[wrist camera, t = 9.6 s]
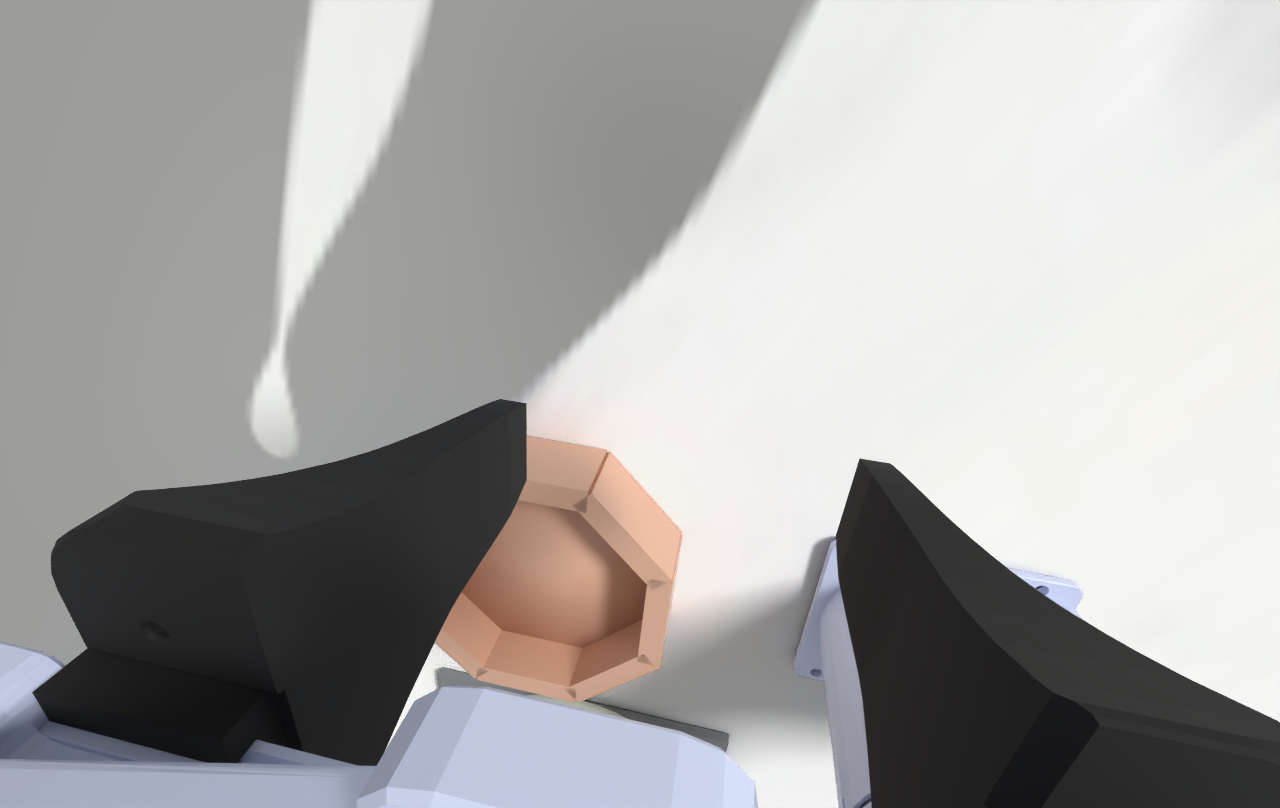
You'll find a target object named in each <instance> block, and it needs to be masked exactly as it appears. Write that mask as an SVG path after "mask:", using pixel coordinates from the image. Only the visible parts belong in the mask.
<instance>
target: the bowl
mask: <svg viewBox="0 0 1280 808" xmlns="http://www.w3.org/2000/svg"><path fill="white" fill-rule="evenodd" d="M681 539H682V534H681V531H680V530H679V529H678V528H677V526H676V525H675V524H674V523H673V522H672V521H671V520H670V519H669V517H668V516H667V515H666V514H665V513H664V512H663V511H662V510H661V508H660V507H659V506H658V505H657V504H656V503H655V502H654V501H653V499H652V498H651V497H650V496H649V495H648V494H647V493H646V492H645V490H644V489H643V488H642V487H641V486H640V485H639V484H638V483H637V481H636V480H635V479H634V478H633V477H632V476H631V475H630V474H629V472H628V471H627V470H626V469H625V468H624V467H623V466H622V465H621V464H620V462H619V461H618V460H617V459H616V458H615V457H614V456H613V455H612V453H611V452H609V453H608V454H607V450H604V449H598V448H592V447H587V446H581V445H575V444H570V443H564V442H558V441H553V440H547V439H541V438H536V437H530V436H527V481H526V483H525V485H524V487H523V490H522V492H521V494H520V497H519V499H518V501H517V503H516V505H515V507H514V510H513V512H512V514H511V516H510V517H509V519H508V521H507V522H506V524H505V525H504V527H503V529H502V530H501V532H500V533H499V535H498V536H497V538H496V540H495V541H494V543H493V544H492V546H491V547H490V549H489V550H488V552H487V553H486V555H485V557H484V558H483V560H482V561H481V563H480V564H479V566H478V567H477V569H476V570H475V572H474V573H473V575H472V577H471V578H470V580H469V581H468V583H467V584H466V586H465V587H464V589H463V590H462V592H461V594H460V595H459V597H458V599H457V600H456V602H455V604H454V605H453V607H452V609H451V611H450V613H449V615H448V617H447V619H446V621H445V623H444V625H443V627H442V629H441V631H440V633H439V635H438V637H437V639H436V641H435V643H436V644H437V645H438V646H439V647H440V648H441V649H442V650H443V651H445V652H446V653H447V654H448V655H449V656H450V657H451V658H452V659H453V660H454V661H456V662H457V663H458V664H459V665H460V666H461V667H462V668H463V669H464V670H466V671H467V672H468V673H469V674H470V675H471V676H472V677H473V678H476V677H477V680H479V681H484V682H488V683H492V684H497V685H501V686H505V687H509V688H514V689H518V690H522V691H527V692H531V693H535V694H539V695H544V696H548V697H552V698H557V699H561V700H565V701H569V702H574V703H576V701H577V702H578V703H579V702H581V701H584V700H586V699H589V698H591V697H593V696H596V695H598V694H601V693H603V692H605V691H608V690H610V689H612V688H615V687H617V686H620V685H622V684H624V683H627V682H629V681H631V680H634V679H636V678H639V677H641V676H643V675H646V674H648V673H651V672H653V671H655V670H658V668H659V667H660V665H661V659H662V654H663V648H664V643H665V637H666V632H667V626H668V621H669V615H670V609H671V603H672V596H673V590H674V584H675V577H676V571H677V565H678V558H679V552H680V545H681Z"/></svg>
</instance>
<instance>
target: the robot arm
mask: <svg viewBox="0 0 1280 808" xmlns="http://www.w3.org/2000/svg"><path fill="white" fill-rule="evenodd" d="M526 481H527V436H526V403H520V402H514V401H508V400H502V399H499V400H496V401H493V402H491V403H488V404H485V405H483V406H481V407H478V408H476V409H474V410H471V411H469V412H467V413H465V414H463V415H460V416H458V417H456V418H453V419H451V420H449V421H447V422H444V423H442V424H440V425H438V426H435V427H433V428H431V429H428V430H426V431H423V432H421V433H418V434H416V435H413V436H411V437H408V438H406V439H403V440H401V441H398V442H396V443H393V444H390V445H388V446H385V447H382V448H379V449H376V450H373V451H370V452H367V453H364V454H360V455H357V456H353V457H350V458H347V459H344V460H340V461H337V462H332V463H328V464H324V465H319V466H315V467H310V468H306V469H302V470H297V471H293V472H288V473H284V474H278V475H273V476H267V477H261V478H255V479H249V480H242V481H236V482H228V483H221V484H212V485H202V486H191V487H179V488H168V489H157V490H142V491H135V492H133V493H131V494H130V495H128V496H126V497H125V498H123V499H122V500H120V501H118V502H117V503H115V504H113V505H112V506H110V507H108V508H107V509H105V510H104V511H102V512H100V513H98V514H97V515H95V516H94V517H92V518H90V519H88V520H87V521H85V522H84V523H82V524H80V525H79V526H77V527H76V528H74V529H72V530H70V531H69V532H67V533H66V534H65V535H63V536H62V537H61V538H59V539H58V540H57V541H56V544H55V546H54V548H53V550H52V553H51V570H52V571H51V573H52V576H53V579H54V581H55V584H56V587H57V590H58V592H59V594H60V596H61V597H62V599H63V601H64V603H65V605H66V607H67V609H68V611H69V613H70V615H71V617H72V619H73V621H74V623H75V625H76V627H77V629H78V631H79V632H80V635H81V637H82V639H83V641H84V643H85V644H86V646H87V647H88V648H87V649H86V650H85V651H84V652H83V653H81V654H80V655H79V656H77V657H76V658H75V659H74V660H72V661H71V662H70V663H69V664H68V665H66V666H65V665H64V664H63V663H62V662H61V661H59V660H58V659H56V658H55V657H54V656H52V655H49V654H47V653H44V652H42V651H37V650H34V649H30V648H26V647H22V646H18V645H13V644H9V643H5V642H1V641H0V808H758V803H757V796H756V789H755V782H754V781H753V780H752V779H751V778H750V777H749V776H748V775H747V774H746V773H745V772H744V771H743V770H742V769H741V768H740V767H739V766H738V765H737V764H736V763H735V762H734V761H733V760H732V759H731V758H730V757H729V756H728V755H727V754H726V753H725V752H724V751H723V750H722V749H721V748H720V747H717V746H715V745H713V744H710V743H708V742H705V741H703V740H700V739H698V738H696V737H693V736H691V735H688V734H686V733H683V732H681V731H677V730H673V729H669V728H664V727H660V726H656V725H651V724H647V723H643V722H638V721H634V720H630V719H625V718H621V717H617V716H612V715H608V714H604V713H599V712H595V711H591V710H586V709H582V708H578V707H573V706H569V705H565V704H560V703H556V702H551V701H547V700H543V699H538V698H534V697H530V696H525V695H521V694H517V693H512V692H508V691H504V690H499V689H495V688H491V687H480V686H457V685H450V686H444V687H441V688H439V689H437V690H435V691H433V692H431V693H429V694H427V695H425V696H423V697H421V698H419V699H417V700H415V701H414V703H413V705H412V706H411V708H410V710H409V712H408V713H407V715H406V717H405V718H404V720H403V722H402V723H401V725H400V727H399V729H398V730H397V732H396V734H395V735H394V737H393V739H392V740H391V742H390V744H389V745H388V742H389V740H390V738H391V736H392V733H393V731H394V729H395V727H396V724H397V722H398V720H399V718H400V715H401V713H402V711H403V709H404V706H405V704H406V702H407V699H408V697H409V695H410V693H411V691H412V689H413V686H414V684H415V682H416V680H417V678H418V676H419V674H420V672H421V670H422V667H423V665H424V663H425V661H426V659H427V657H428V655H429V653H430V650H431V648H432V646H433V644H434V642H435V641H436V639H437V637H438V635H439V633H440V631H441V629H442V627H443V625H444V623H445V621H446V619H447V617H448V615H449V613H450V611H451V609H452V607H453V605H454V604H455V602H456V600H457V599H458V597H459V595H460V594H461V592H462V590H463V589H464V587H465V586H466V584H467V583H468V581H469V580H470V578H471V577H472V575H473V573H474V572H475V570H476V569H477V567H478V566H479V564H480V563H481V561H482V560H483V558H484V557H485V555H486V553H487V552H488V550H489V549H490V547H491V546H492V544H493V543H494V541H495V540H496V538H497V536H498V535H499V533H500V532H501V530H502V529H503V527H504V525H505V524H506V522H507V521H508V519H509V517H510V516H511V514H512V512H513V510H514V507H515V505H516V503H517V501H518V499H519V497H520V494H521V492H522V490H523V487H524V485H525V483H526ZM1038 586H1043V587H1041V588H1039V589H1035V588H1036V587H1038ZM1082 597H1083V591H1082V589H1081V588H1080V586H1079V585H1078V584H1077V583H1076V582H1075V581H1072V580H1068V579H1062V578H1057V577H1051V576H1046V575H1041V574H1035V573H1030V572H1025V571H1019V570H1014V569H1008V568H1006V567H1005V566H1004V565H1003V564H1001V563H1000V562H999V561H997V560H996V559H995V558H994V557H993V556H991V555H990V554H989V553H988V552H987V551H985V550H984V549H983V548H982V547H981V546H979V545H978V544H977V543H976V542H975V541H973V540H972V539H971V538H970V537H969V536H968V535H966V534H965V533H964V532H963V531H962V530H961V529H960V528H959V527H958V526H956V525H955V524H954V523H953V522H952V521H951V520H950V519H949V518H948V517H947V516H946V515H945V514H943V513H942V512H941V511H940V510H939V509H938V508H937V507H936V506H935V505H934V504H933V503H932V502H931V501H930V500H929V499H928V498H927V497H926V496H925V495H924V494H923V493H922V492H921V491H920V490H918V489H917V488H916V487H915V486H914V485H913V484H912V483H911V482H910V481H909V480H908V479H907V478H906V477H905V476H904V475H903V474H902V473H901V472H900V471H899V470H897V469H896V468H895V467H894V466H893V465H891V464H889V463H883V462H877V461H871V460H865V459H859V463H858V466H857V469H856V472H855V476H854V479H853V482H852V485H851V489H850V492H849V495H848V498H847V502H846V505H845V508H844V511H843V515H842V518H841V521H840V524H839V527H838V531H837V534H836V539H835V540H834V541H832V542H831V544H830V546H829V549H828V552H827V556H826V559H825V562H824V565H823V568H822V572H821V575H820V578H819V581H818V585H817V588H816V591H815V594H814V598H813V601H812V604H811V607H810V610H809V614H808V617H807V620H806V623H805V627H804V630H803V633H802V636H801V640H800V643H799V646H798V649H797V653H796V656H795V659H794V671H795V673H796V674H797V675H799V676H801V677H805V678H810V679H814V680H819V681H824V682H825V691H826V699H827V708H828V717H829V726H830V734H831V743H832V752H833V761H834V770H835V778H836V787H837V796H838V805H839V808H1280V723H1279V722H1278V721H1277V720H1274V719H1272V718H1270V717H1268V716H1266V715H1264V714H1262V713H1260V712H1258V711H1255V710H1253V709H1251V708H1249V707H1247V706H1245V705H1243V704H1241V703H1238V702H1236V701H1234V700H1232V699H1230V698H1228V697H1226V696H1224V695H1222V694H1219V693H1217V692H1215V691H1213V690H1211V689H1209V688H1207V687H1205V686H1202V685H1200V684H1198V683H1196V682H1194V681H1192V680H1190V679H1188V678H1186V677H1184V676H1182V675H1180V674H1178V673H1176V672H1174V671H1172V670H1170V669H1169V668H1167V667H1165V666H1163V665H1161V664H1159V663H1157V662H1155V661H1154V660H1152V659H1150V658H1148V657H1146V656H1144V655H1142V654H1141V653H1139V652H1137V651H1135V650H1133V649H1131V648H1129V647H1128V646H1126V645H1124V644H1123V643H1121V642H1119V641H1117V640H1116V639H1114V638H1112V637H1110V636H1109V635H1107V634H1105V633H1103V632H1102V631H1100V630H1098V629H1097V628H1095V627H1094V626H1092V625H1090V624H1089V623H1087V622H1086V621H1084V620H1082V619H1081V617H1080V616H1079V614H1078V613H1077V611H1076V610H1075V609H1076V608H1077V606H1078V604H1079V603H1080V601H1081V599H1082ZM815 669H817V670H815ZM387 745H388V747H387ZM386 747H387V749H386ZM385 749H386V751H385Z"/></svg>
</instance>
